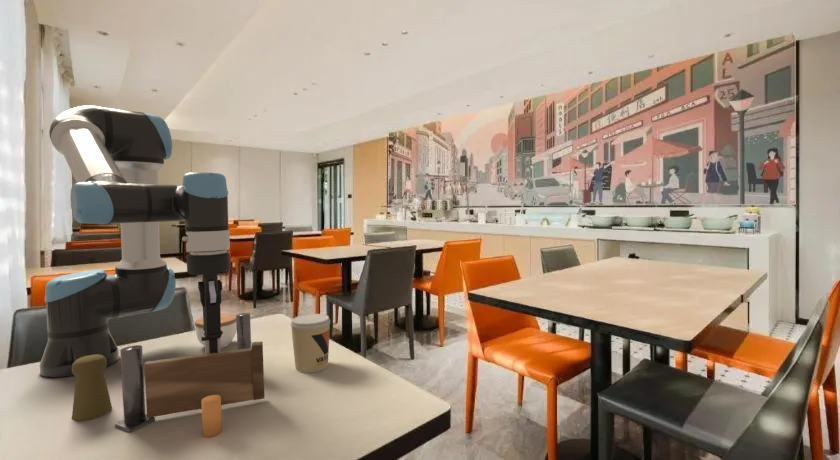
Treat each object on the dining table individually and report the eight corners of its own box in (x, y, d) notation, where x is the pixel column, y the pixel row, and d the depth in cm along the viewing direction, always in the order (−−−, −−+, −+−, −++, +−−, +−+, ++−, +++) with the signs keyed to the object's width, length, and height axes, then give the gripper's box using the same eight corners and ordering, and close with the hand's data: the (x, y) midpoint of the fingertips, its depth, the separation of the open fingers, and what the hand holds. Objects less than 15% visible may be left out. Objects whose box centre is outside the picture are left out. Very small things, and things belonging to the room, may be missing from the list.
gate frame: (114, 427, 72) (110, 350, 71) (243, 368, 98) (241, 312, 97) (129, 432, 70) (125, 354, 69) (257, 371, 96) (255, 314, 95)
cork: (67, 424, 73) (63, 365, 73) (77, 409, 79) (73, 354, 78) (108, 415, 76) (105, 359, 75) (115, 402, 81) (112, 349, 81)
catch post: (198, 434, 69) (197, 401, 69) (214, 426, 72) (212, 393, 72) (210, 438, 68) (209, 404, 68) (225, 429, 71) (224, 396, 70)
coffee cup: (321, 375, 93) (319, 324, 93) (284, 372, 95) (283, 323, 94) (337, 360, 102) (336, 314, 102) (303, 358, 104) (302, 312, 104)
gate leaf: (149, 413, 75) (146, 355, 74) (264, 394, 82) (262, 341, 81) (146, 418, 73) (143, 359, 72) (264, 398, 80) (262, 344, 80)
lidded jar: (212, 338, 121) (211, 307, 120) (245, 340, 119) (244, 308, 119) (187, 351, 110) (185, 317, 109) (223, 353, 108) (221, 319, 108)
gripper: (185, 250, 82) (190, 363, 84) (187, 257, 71) (193, 386, 73) (225, 248, 86) (230, 355, 87) (233, 254, 75) (238, 377, 76)
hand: (213, 369), depth 80 cm, fingers closed
